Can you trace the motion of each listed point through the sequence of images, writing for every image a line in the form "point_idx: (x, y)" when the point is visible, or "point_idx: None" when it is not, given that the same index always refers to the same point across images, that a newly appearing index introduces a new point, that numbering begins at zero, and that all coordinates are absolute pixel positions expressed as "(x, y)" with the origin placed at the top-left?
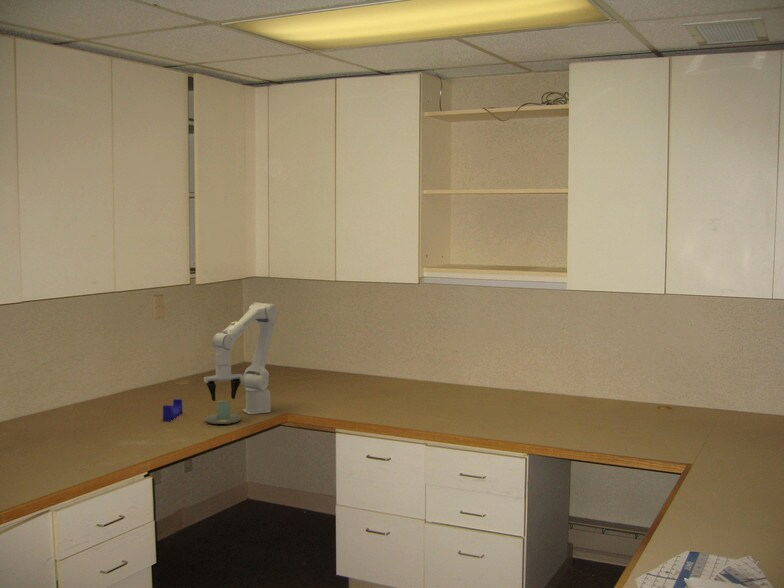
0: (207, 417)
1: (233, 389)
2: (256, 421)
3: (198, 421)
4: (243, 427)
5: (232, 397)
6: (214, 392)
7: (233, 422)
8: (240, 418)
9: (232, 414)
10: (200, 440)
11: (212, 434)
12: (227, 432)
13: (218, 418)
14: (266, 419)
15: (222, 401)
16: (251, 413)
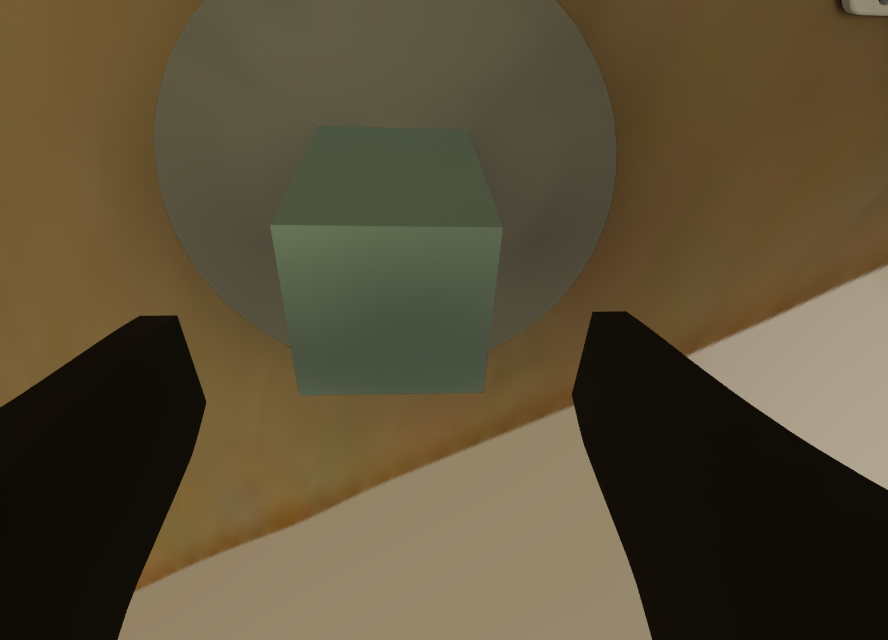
0: (179, 107)
1: (659, 580)
2: (688, 317)
3: (62, 34)
4: (489, 429)
5: (585, 388)
6: (104, 611)
7: None
8: (575, 269)
9: (567, 99)
10: None
11: (213, 498)
12: (331, 490)
13: None
14: (810, 291)
15: (392, 275)
16: (881, 14)
